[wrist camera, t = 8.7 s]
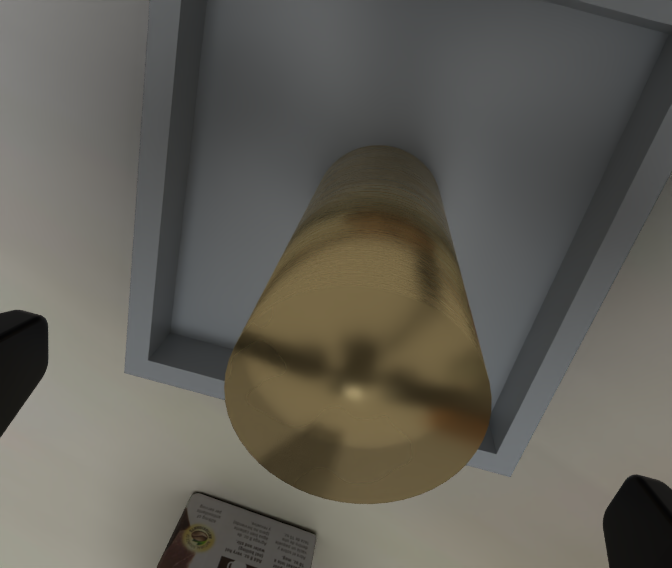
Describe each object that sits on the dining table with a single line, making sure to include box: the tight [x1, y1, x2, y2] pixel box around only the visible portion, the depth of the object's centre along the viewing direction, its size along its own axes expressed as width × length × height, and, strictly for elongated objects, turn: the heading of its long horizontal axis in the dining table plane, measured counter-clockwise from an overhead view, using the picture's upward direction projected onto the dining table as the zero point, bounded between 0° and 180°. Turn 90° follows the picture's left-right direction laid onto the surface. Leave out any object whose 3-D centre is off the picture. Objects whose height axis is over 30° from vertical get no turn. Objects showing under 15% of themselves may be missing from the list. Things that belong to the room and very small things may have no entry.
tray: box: [124, 0, 672, 477], centre depth 16 cm, size 14×15×2 cm
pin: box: [224, 145, 492, 504], centre depth 12 cm, size 4×4×10 cm
